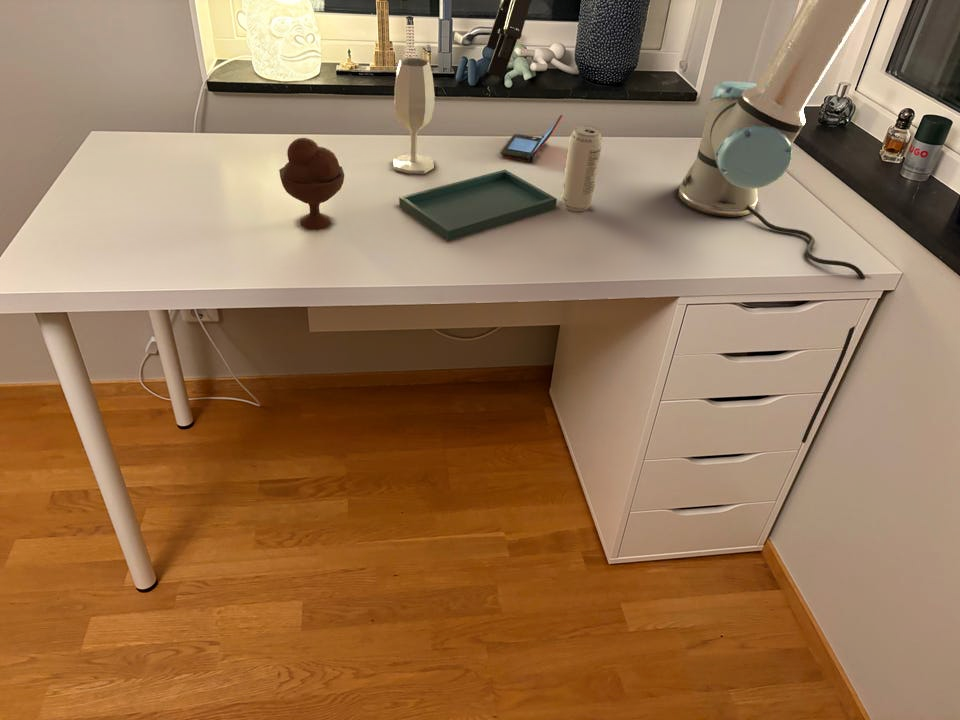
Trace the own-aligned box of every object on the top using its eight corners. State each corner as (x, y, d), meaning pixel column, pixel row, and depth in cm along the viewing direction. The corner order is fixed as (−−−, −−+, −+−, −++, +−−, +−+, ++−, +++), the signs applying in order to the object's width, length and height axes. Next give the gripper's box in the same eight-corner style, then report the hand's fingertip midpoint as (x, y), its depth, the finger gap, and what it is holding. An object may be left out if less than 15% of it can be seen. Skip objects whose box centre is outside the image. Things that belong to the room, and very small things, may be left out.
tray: (555, 208, 146) (557, 198, 145) (448, 241, 132) (448, 231, 131) (504, 178, 155) (505, 169, 154) (399, 206, 142) (399, 196, 141)
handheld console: (513, 138, 173) (516, 105, 169) (559, 146, 171) (564, 113, 167) (498, 157, 164) (501, 123, 159) (547, 166, 162) (551, 132, 157)
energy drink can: (569, 196, 150) (580, 121, 141) (596, 205, 148) (609, 130, 139) (554, 206, 146) (565, 130, 137) (582, 215, 144) (594, 139, 135)
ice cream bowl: (287, 239, 129) (278, 155, 120) (282, 210, 138) (274, 129, 129) (349, 235, 132) (346, 152, 123) (341, 206, 140) (337, 127, 131)
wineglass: (428, 177, 153) (431, 71, 140) (387, 171, 154) (385, 65, 141) (439, 161, 160) (442, 58, 147) (399, 155, 161) (399, 53, 148)
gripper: (515, -95, 126) (473, 32, 138) (522, -65, 106) (473, 79, 119) (556, -78, 127) (511, 46, 140) (571, -45, 108) (518, 95, 121)
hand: (494, 61), depth 130 cm, fingers open, 13 cm apart
